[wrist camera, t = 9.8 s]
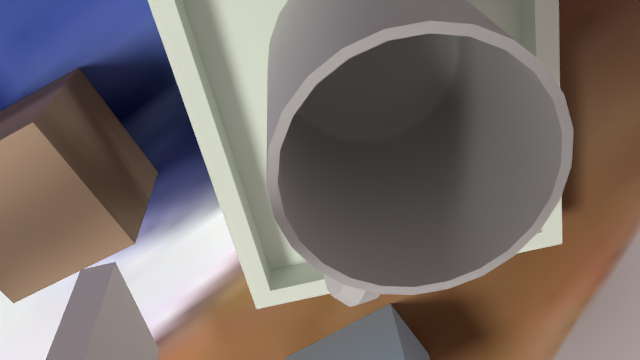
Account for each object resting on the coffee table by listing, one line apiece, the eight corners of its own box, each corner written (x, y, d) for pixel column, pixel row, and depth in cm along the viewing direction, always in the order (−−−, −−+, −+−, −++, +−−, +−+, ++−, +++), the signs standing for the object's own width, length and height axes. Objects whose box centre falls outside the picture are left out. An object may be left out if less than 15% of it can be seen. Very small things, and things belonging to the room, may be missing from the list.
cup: (495, -23, 21) (629, 59, 13) (409, 217, 25) (470, 383, 18) (290, -73, 20) (303, -15, 12) (238, 189, 24) (224, 354, 16)
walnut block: (-30, 127, 23) (-100, 195, 19) (79, 66, 22) (32, 122, 18) (57, 223, 25) (13, 303, 21) (158, 171, 24) (134, 243, 20)
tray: (127, -103, 19) (113, -97, 18) (529, -202, 19) (556, -206, 17) (257, 279, 27) (256, 309, 26) (543, 217, 27) (562, 243, 25)
